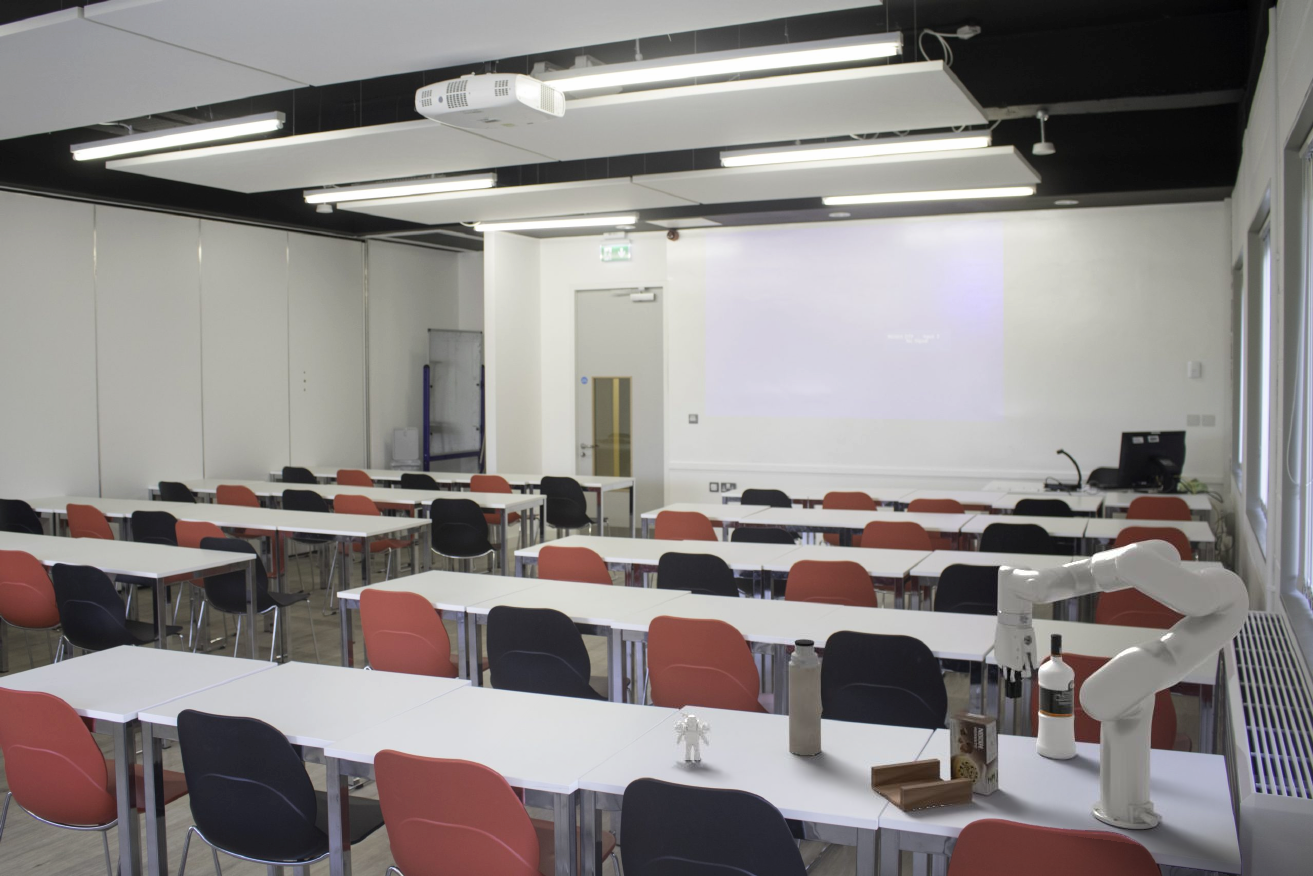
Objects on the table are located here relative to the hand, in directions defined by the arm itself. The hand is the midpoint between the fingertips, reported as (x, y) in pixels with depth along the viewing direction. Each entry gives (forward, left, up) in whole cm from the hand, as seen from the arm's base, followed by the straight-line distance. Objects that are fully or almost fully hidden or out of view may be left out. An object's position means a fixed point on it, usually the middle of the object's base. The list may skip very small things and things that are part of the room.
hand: (1013, 697), depth 226 cm
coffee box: (0, +11, -20) cm, 23 cm away
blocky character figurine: (+37, +66, -20) cm, 78 cm away
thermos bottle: (+34, +37, -20) cm, 54 cm away
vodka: (+12, -21, -20) cm, 31 cm away
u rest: (0, +25, -20) cm, 31 cm away
